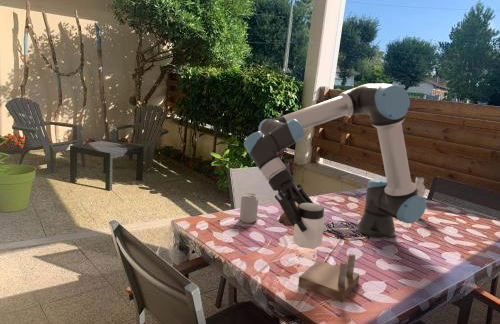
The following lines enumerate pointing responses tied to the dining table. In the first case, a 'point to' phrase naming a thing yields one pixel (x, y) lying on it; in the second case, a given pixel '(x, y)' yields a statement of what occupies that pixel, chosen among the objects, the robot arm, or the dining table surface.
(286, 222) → the bread roll
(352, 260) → the peg stand
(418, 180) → the pale carved statuette
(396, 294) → the dining table surface
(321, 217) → the jar
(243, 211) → the can
